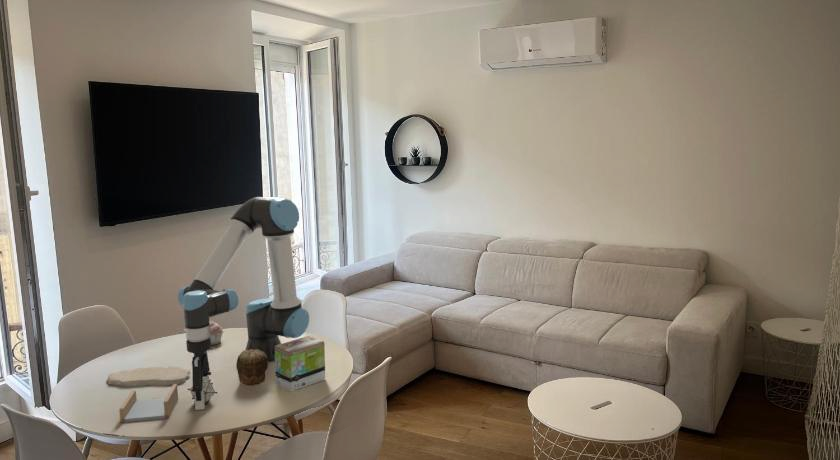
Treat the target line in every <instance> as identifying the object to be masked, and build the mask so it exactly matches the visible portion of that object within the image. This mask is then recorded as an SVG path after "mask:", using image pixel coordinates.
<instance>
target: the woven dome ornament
mask: <svg viewBox="0 0 840 460" xmlns="http://www.w3.org/2000/svg"><path fill="white" fill-rule="evenodd" d="M235 365H236V367H235V368H236V371H237V376H238V381H239V382H240V384H241V385H244V386H256V385H261V384H262V383H264V382H265V380H266V373H267V370H268V369H269V368H268V367H269V362H268V359H267V356H266V354H265V353H264V352H262V351H260V350H258V349H256V350H252V349H250V350H246V349H245V350H242V351H241V352H240V353H239V355H238V357H237V359H236V364H235Z"/></svg>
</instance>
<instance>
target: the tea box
mask: <svg viewBox="0 0 840 460" xmlns="http://www.w3.org/2000/svg"><path fill="white" fill-rule="evenodd" d="M325 351H326V350H325V341H324V340H321V339H319V338H315V337H314V336H313V337H312V336H309V335H307V336H304V337H300V338H295V339H293V340H290V341H287V342H283V343H281V344H279V345H276V346H275V361H274V367H275V368H274V371H275V372H274V373H275V385H276V386H278V387H280V388H282V389H284V390H287V391H289V392H292V393H293V392H294V391H296V390H298V389H299V390H300V389H301V388H304V387H305V388H306V387H307V386H310V385H312V384H316V383H318V382H322V381H325V380H326V356H325V355H326V354H325V353H326V352H325ZM324 379H325V380H324Z"/></svg>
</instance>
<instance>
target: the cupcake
mask: <svg viewBox="0 0 840 460" xmlns="http://www.w3.org/2000/svg"><path fill="white" fill-rule="evenodd" d="M209 325H210V340H211V346H215V345H219V344H220V343H221V342H222V337H223V333H224V331H225V330H223V327H222V326H221V325H220V324H219V323H217V322H214V321H213V320H209Z"/></svg>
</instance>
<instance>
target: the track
mask: <svg viewBox="0 0 840 460" xmlns="http://www.w3.org/2000/svg"><path fill="white" fill-rule="evenodd" d="M178 401H179V393H178V384H173V385H171V388H170V390H169V391H168V393H167V395H166V397H161V398H160V397H159V398H150V399H138V400H137V391H136V390H131V391H130V393H128V395H127V397H126V398H125V400H124V401H123V403H122V404H121V405H120V407H119V408H118V409H119V419H120V423H129V422H142V421H152V420H162V419H170V417H171V416H172V413H173V411H174V409H175V407H176V405H177V403H178Z"/></svg>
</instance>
